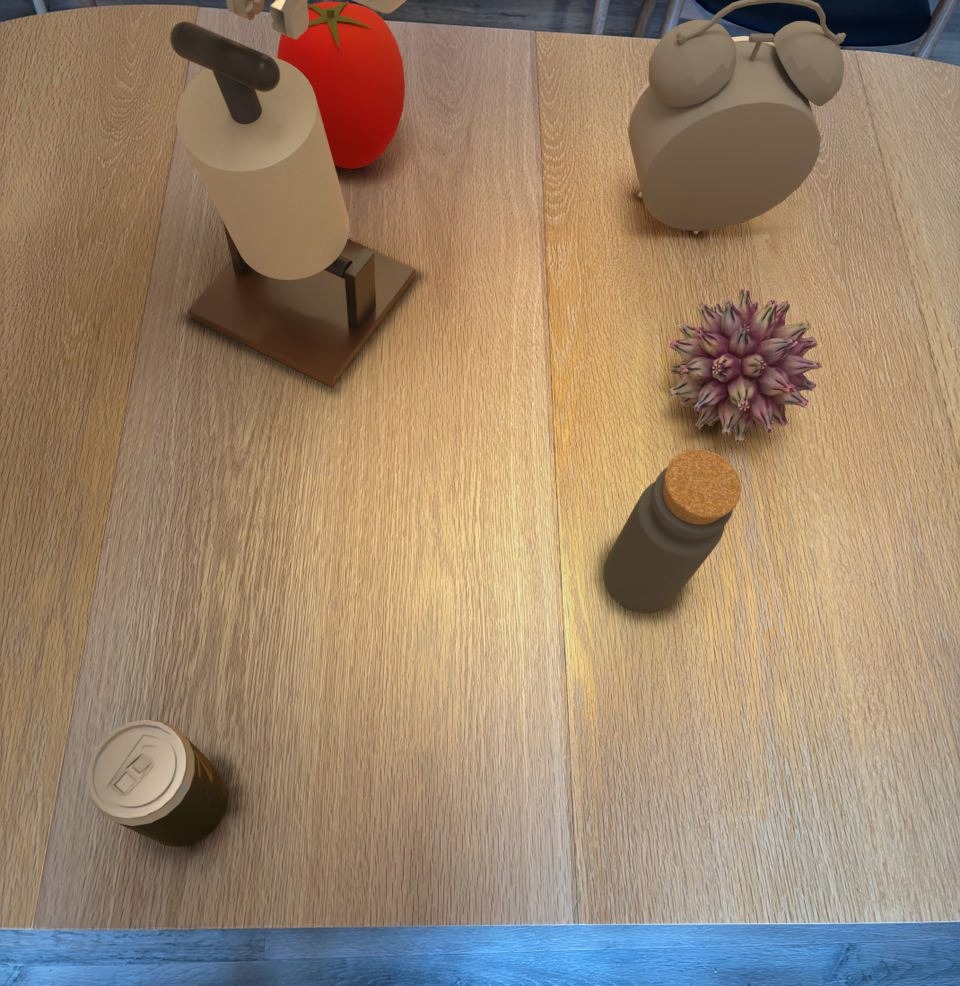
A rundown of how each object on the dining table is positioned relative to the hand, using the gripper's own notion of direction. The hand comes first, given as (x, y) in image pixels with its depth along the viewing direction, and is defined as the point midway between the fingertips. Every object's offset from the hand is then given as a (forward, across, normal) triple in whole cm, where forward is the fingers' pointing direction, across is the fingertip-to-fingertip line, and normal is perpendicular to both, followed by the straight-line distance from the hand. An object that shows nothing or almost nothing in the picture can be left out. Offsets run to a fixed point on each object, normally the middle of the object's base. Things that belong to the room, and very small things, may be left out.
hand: (269, 21), depth 53 cm
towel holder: (+11, 0, -7) cm, 12 cm away
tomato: (+26, -7, +18) cm, 32 cm away
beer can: (+25, +16, -39) cm, 49 cm away
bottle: (+26, +36, -10) cm, 45 cm away
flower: (+26, +36, +8) cm, 45 cm away
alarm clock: (+26, +26, +28) cm, 46 cm away
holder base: (+25, 0, 0) cm, 25 cm away
